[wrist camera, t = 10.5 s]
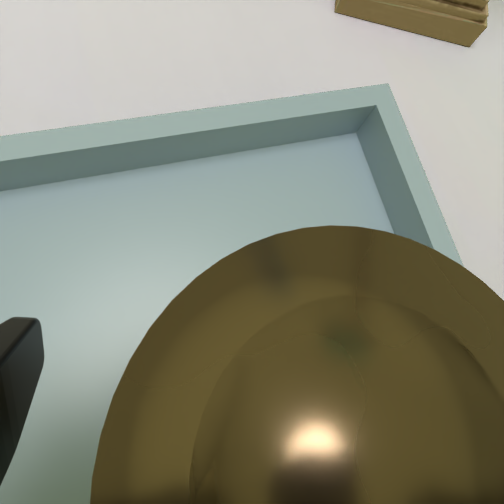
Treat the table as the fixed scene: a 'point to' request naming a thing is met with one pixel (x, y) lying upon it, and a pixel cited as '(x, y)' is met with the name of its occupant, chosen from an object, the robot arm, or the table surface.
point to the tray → (173, 236)
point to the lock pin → (314, 381)
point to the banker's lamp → (424, 16)
